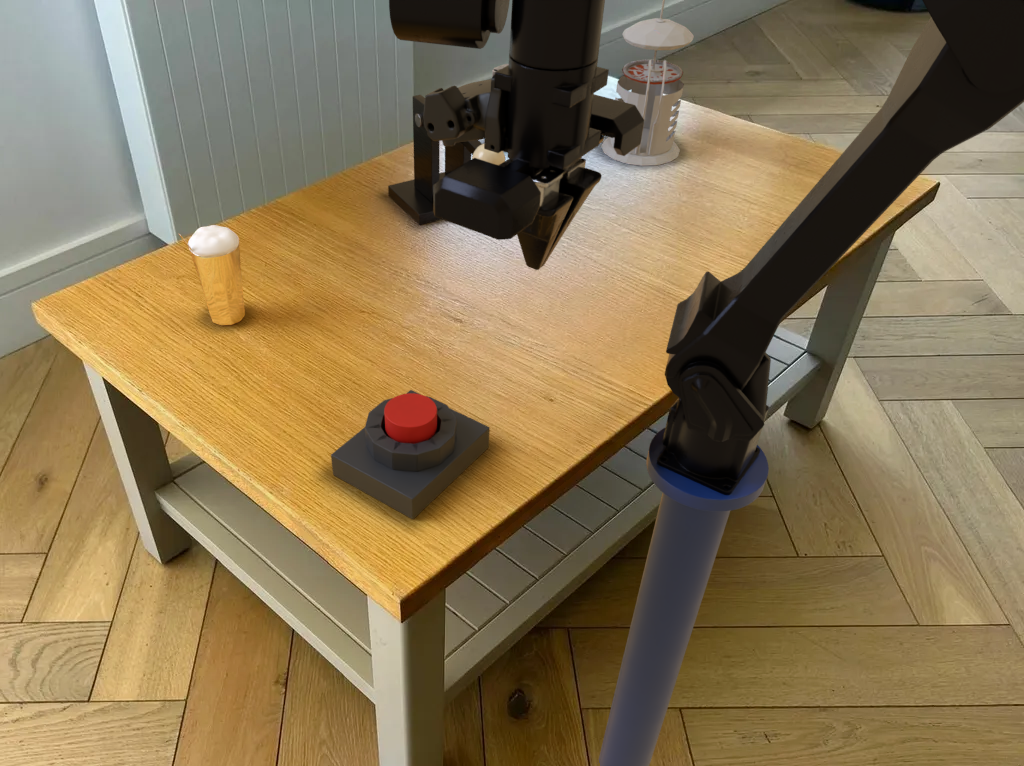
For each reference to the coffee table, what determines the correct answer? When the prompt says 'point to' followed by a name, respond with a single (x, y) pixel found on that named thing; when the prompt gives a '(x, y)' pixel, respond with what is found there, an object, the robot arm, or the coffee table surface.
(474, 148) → the lever
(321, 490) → the coffee table surface
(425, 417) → the button
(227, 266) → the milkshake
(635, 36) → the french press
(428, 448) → the control block
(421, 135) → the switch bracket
